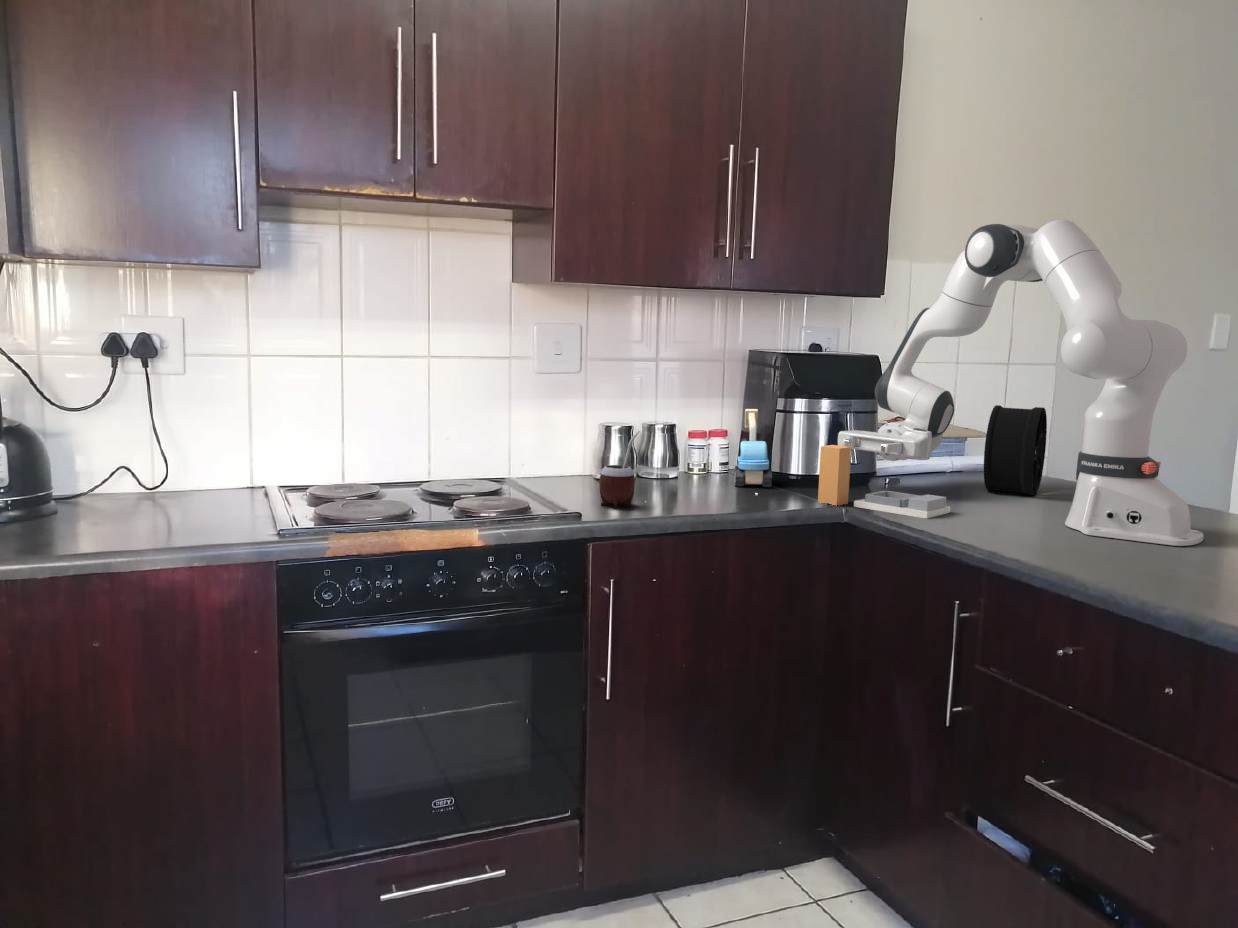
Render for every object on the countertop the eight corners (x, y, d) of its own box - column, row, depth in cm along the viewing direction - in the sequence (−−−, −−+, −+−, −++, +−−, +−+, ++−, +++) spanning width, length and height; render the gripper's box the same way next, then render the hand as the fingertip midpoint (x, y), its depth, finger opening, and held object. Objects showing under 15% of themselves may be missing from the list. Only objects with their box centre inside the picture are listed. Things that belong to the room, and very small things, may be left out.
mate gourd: (596, 508, 183) (598, 433, 181) (602, 501, 191) (603, 429, 188) (634, 510, 182) (636, 434, 180) (638, 503, 190) (640, 430, 188)
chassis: (949, 512, 187) (951, 496, 187) (926, 518, 180) (927, 502, 180) (878, 501, 199) (879, 486, 198) (853, 506, 191) (854, 491, 191)
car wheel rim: (1029, 501, 203) (1037, 410, 200) (980, 496, 208) (987, 407, 206) (1041, 489, 220) (1049, 405, 217) (996, 485, 225) (1003, 402, 222)
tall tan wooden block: (847, 503, 195) (851, 447, 193) (836, 506, 192) (839, 448, 190) (829, 500, 198) (832, 444, 196) (817, 502, 195) (820, 446, 193)
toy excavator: (768, 478, 227) (771, 408, 225) (772, 489, 211) (776, 414, 208) (732, 477, 228) (735, 407, 226) (734, 488, 212) (737, 413, 209)
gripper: (856, 423, 219) (824, 426, 209) (938, 432, 205) (908, 436, 195) (854, 449, 220) (822, 454, 210) (936, 460, 206) (905, 466, 196)
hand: (864, 445), depth 202 cm, fingers open, 8 cm apart
